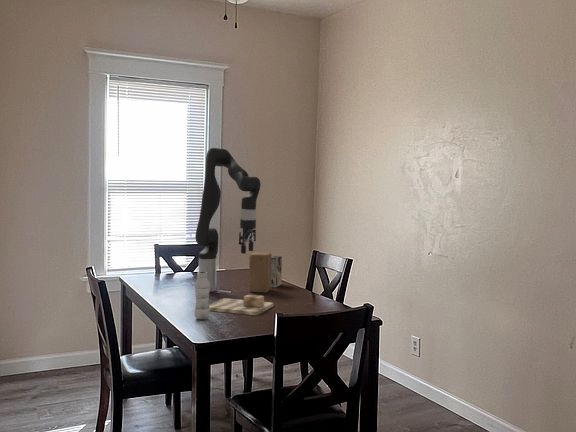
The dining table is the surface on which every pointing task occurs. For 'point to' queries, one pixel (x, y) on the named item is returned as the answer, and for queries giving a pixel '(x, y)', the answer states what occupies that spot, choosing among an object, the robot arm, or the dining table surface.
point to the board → (237, 307)
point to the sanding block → (253, 301)
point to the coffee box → (276, 270)
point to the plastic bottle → (202, 297)
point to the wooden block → (260, 272)
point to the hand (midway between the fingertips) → (247, 252)
